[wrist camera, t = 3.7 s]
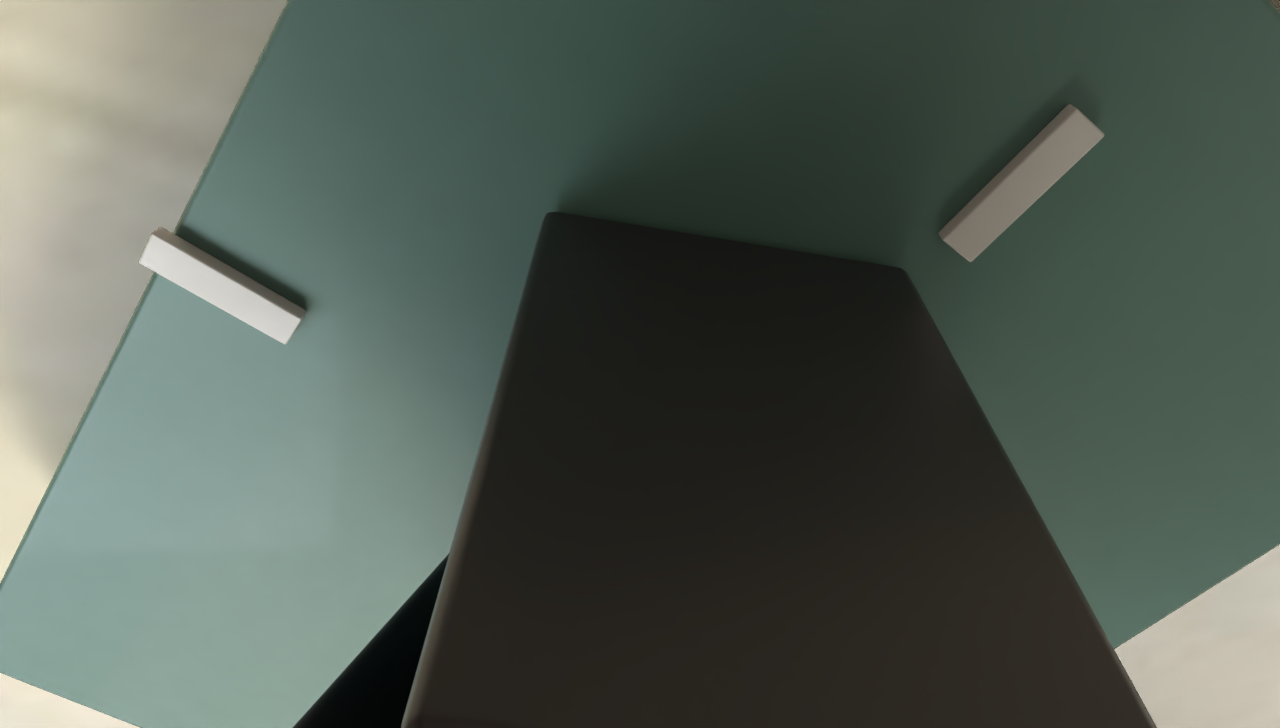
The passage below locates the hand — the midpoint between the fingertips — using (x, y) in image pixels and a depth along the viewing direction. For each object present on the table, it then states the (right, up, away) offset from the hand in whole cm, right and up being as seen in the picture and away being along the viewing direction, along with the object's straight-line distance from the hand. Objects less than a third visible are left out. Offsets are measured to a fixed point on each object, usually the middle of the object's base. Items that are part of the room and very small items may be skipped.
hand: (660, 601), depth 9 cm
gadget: (0, 0, +1) cm, 1 cm away
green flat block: (0, +2, +3) cm, 4 cm away
